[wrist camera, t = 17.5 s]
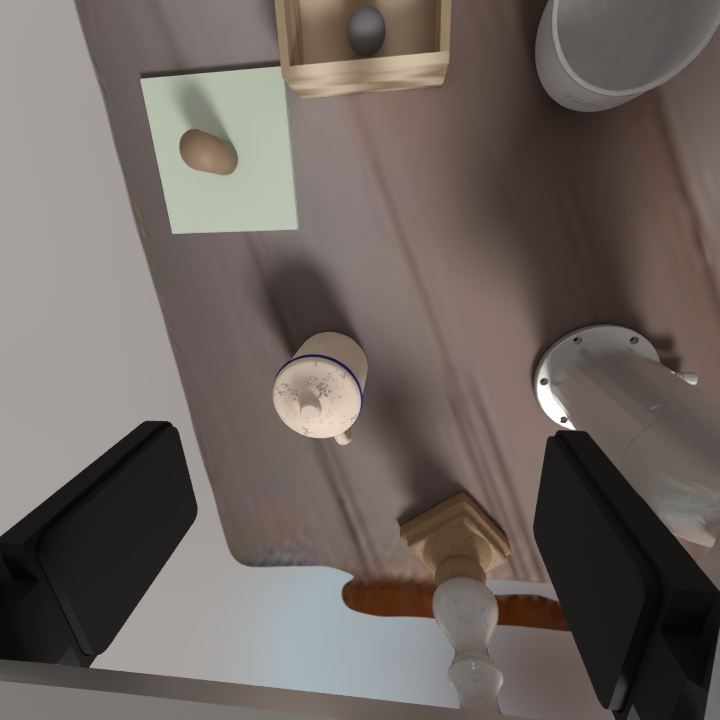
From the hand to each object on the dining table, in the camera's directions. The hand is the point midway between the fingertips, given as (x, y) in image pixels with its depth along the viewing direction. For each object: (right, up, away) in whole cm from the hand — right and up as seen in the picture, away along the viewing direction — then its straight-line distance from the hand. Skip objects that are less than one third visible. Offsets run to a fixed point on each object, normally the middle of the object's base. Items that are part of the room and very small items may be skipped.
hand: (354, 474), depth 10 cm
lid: (-13, +24, +29) cm, 40 cm away
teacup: (+21, +30, +22) cm, 43 cm away
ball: (+1, +31, +23) cm, 38 cm away
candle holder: (+13, -21, +43) cm, 50 cm away
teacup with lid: (-3, +1, +36) cm, 36 cm away
